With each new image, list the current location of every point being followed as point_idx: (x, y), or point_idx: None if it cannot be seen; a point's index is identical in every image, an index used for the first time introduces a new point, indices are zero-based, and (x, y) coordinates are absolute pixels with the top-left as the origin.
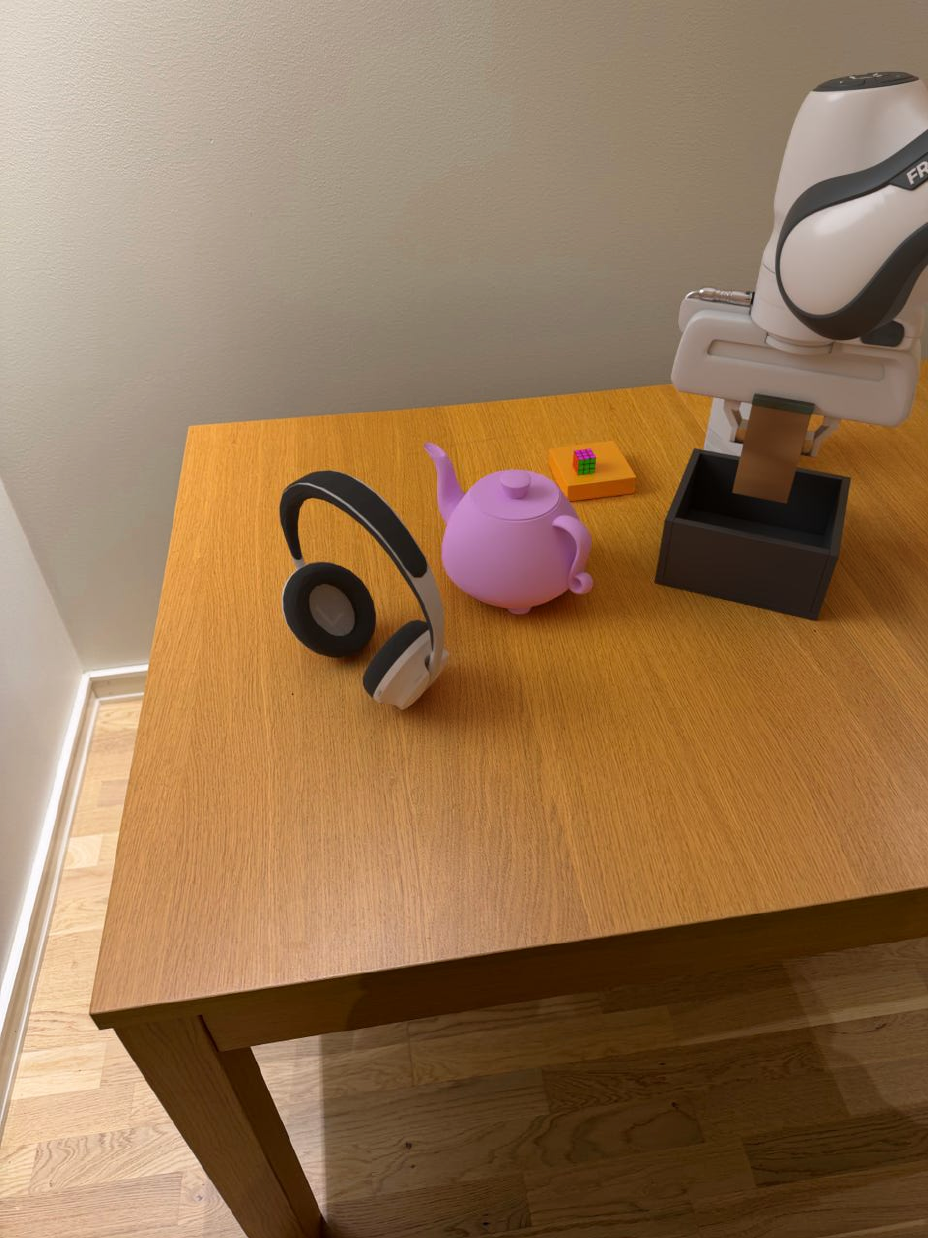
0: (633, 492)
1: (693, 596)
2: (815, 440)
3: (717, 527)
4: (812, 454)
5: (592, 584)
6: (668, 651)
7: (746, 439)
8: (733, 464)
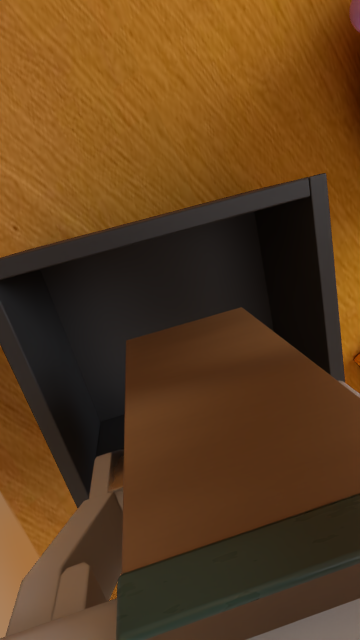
0: (355, 358)
1: (197, 195)
2: (105, 495)
3: (223, 214)
4: (106, 457)
5: (356, 3)
6: (173, 36)
7: (312, 367)
8: None
